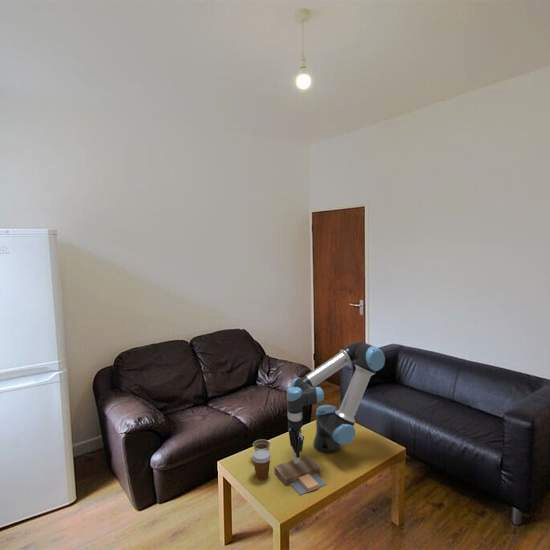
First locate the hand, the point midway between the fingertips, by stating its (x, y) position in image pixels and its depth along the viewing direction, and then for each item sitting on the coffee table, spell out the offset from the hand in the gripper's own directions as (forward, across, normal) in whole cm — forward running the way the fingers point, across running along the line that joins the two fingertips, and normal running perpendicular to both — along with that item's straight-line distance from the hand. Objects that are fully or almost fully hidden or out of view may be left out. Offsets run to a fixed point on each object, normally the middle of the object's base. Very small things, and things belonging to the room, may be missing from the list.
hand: (296, 462), depth 185 cm
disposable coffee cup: (+5, -5, -18) cm, 19 cm away
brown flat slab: (+5, +1, 0) cm, 5 cm away
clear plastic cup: (+5, -18, -11) cm, 22 cm away
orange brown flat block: (+5, +12, -1) cm, 13 cm away
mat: (+5, +12, -1) cm, 12 cm away
